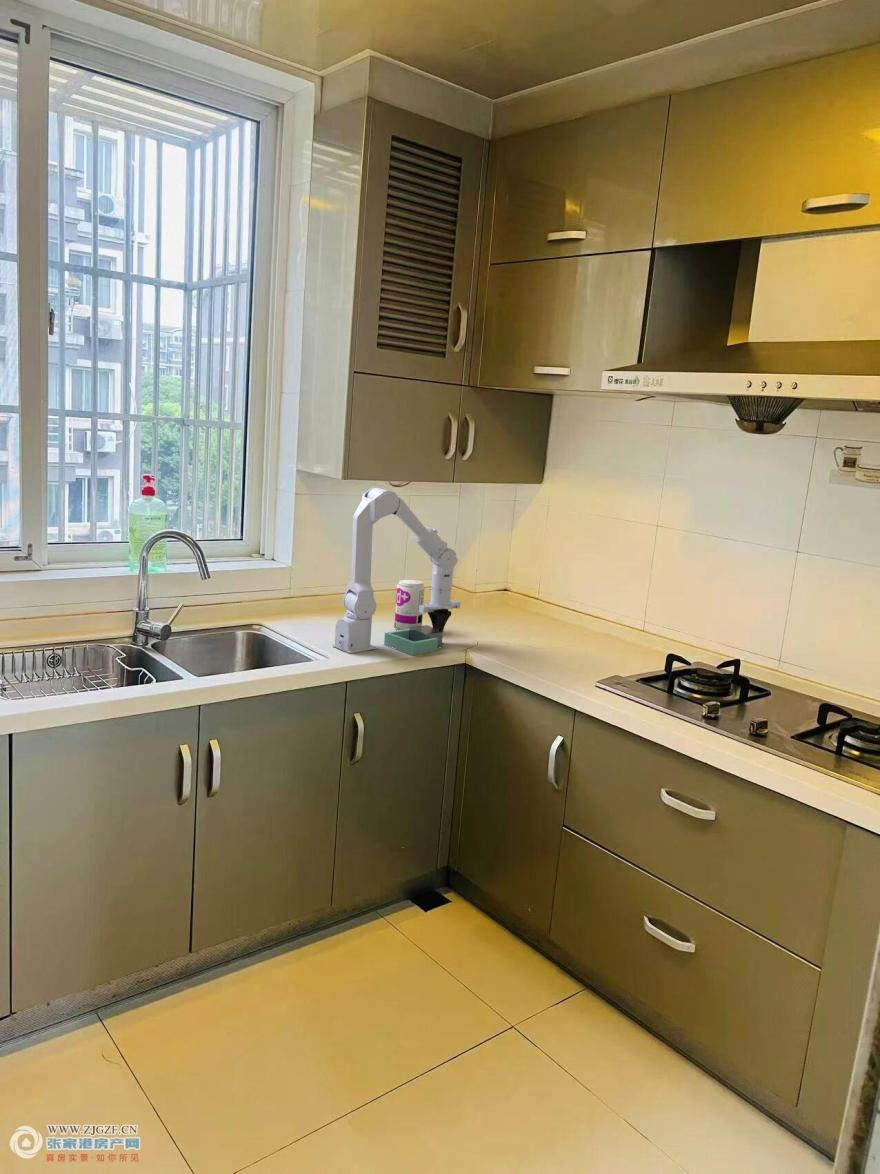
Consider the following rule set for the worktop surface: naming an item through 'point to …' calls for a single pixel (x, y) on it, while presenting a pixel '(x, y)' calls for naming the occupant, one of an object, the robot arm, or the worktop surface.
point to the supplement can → (409, 604)
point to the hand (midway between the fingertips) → (437, 634)
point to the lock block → (425, 634)
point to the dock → (409, 642)
